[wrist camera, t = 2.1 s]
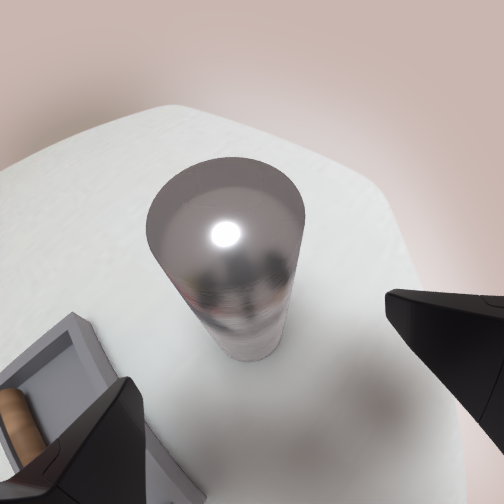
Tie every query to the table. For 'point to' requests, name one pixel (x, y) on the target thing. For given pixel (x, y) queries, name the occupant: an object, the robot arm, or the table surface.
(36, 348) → the tray
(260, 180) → the sleeve
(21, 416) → the rod
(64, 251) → the table surface
